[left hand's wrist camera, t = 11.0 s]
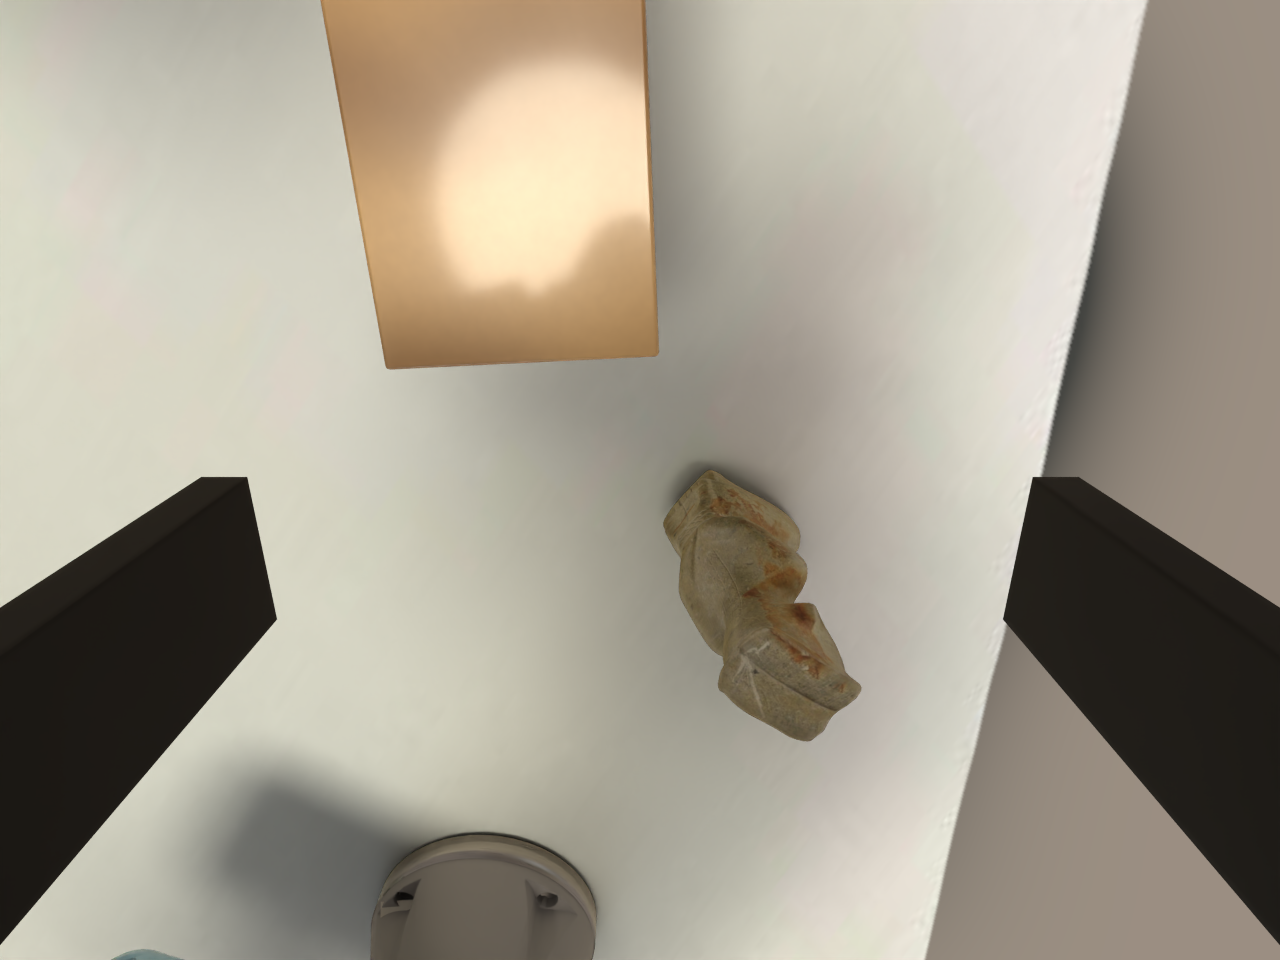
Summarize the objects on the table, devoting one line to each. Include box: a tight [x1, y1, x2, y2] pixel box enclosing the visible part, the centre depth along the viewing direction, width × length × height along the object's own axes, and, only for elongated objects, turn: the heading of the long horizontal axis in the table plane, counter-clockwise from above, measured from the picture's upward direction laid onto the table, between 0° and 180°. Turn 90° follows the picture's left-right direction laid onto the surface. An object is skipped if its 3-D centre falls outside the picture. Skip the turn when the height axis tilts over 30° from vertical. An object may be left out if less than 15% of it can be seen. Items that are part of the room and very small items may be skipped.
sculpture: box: [663, 470, 861, 741], centre depth 34 cm, size 6×7×15 cm
